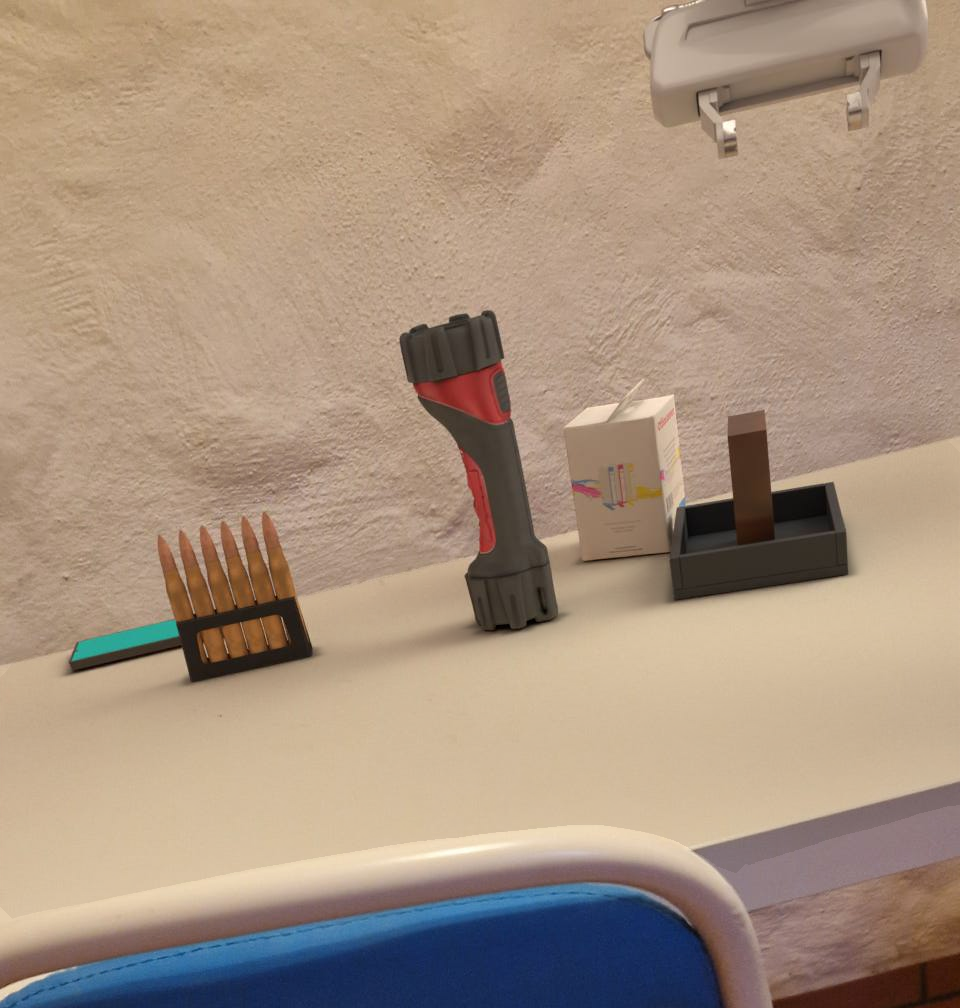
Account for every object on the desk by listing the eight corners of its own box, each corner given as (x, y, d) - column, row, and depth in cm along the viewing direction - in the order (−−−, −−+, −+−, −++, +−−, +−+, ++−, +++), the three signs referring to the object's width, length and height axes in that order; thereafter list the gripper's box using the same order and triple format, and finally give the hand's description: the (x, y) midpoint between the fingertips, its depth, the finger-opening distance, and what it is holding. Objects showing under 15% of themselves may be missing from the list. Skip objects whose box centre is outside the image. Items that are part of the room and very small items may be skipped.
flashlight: (447, 624, 119) (386, 330, 107) (531, 599, 121) (480, 306, 108) (475, 644, 113) (413, 334, 101) (564, 617, 114) (513, 308, 102)
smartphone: (226, 625, 129) (68, 662, 129) (229, 634, 130) (71, 671, 129) (227, 606, 135) (76, 641, 135) (230, 614, 136) (79, 649, 136)
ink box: (603, 536, 134) (582, 385, 127) (689, 525, 131) (673, 371, 124) (581, 563, 127) (557, 406, 120) (671, 552, 124) (652, 391, 117)
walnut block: (774, 533, 120) (764, 409, 115) (776, 559, 114) (766, 429, 108) (739, 539, 121) (727, 416, 116) (739, 565, 114) (727, 436, 109)
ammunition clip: (313, 649, 121) (276, 506, 114) (312, 655, 119) (274, 511, 113) (193, 675, 121) (149, 534, 115) (191, 682, 120) (146, 539, 113)
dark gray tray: (835, 520, 123) (833, 481, 121) (848, 574, 109) (846, 531, 107) (680, 544, 126) (676, 507, 124) (674, 600, 112) (669, 558, 111)
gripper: (636, -22, 105) (646, 134, 102) (920, -93, 100) (938, 68, 98) (647, 50, 111) (656, 199, 108) (915, -14, 106) (932, 141, 104)
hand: (792, 137), depth 103 cm, fingers open, 8 cm apart
